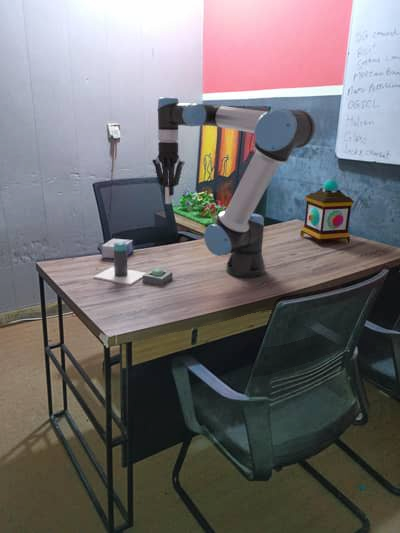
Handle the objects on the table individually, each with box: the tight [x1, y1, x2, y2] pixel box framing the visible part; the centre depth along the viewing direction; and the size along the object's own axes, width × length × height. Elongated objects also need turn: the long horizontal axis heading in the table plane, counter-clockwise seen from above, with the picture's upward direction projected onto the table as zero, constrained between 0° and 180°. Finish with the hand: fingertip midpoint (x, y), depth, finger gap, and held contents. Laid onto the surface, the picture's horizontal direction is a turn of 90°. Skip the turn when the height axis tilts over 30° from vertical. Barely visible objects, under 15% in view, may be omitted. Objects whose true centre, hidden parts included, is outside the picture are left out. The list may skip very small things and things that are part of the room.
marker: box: [113, 242, 129, 277], centre depth 160 cm, size 5×5×12 cm
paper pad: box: [93, 266, 147, 286], centre depth 162 cm, size 16×12×1 cm
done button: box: [151, 268, 164, 277], centre depth 159 cm, size 4×4×3 cm
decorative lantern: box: [300, 178, 355, 247], centre depth 210 cm, size 20×20×30 cm
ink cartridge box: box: [100, 238, 134, 260], centre depth 187 cm, size 10×6×14 cm
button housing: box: [142, 268, 173, 286], centre depth 159 cm, size 8×8×2 cm
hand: (168, 203), depth 171 cm, fingers closed
